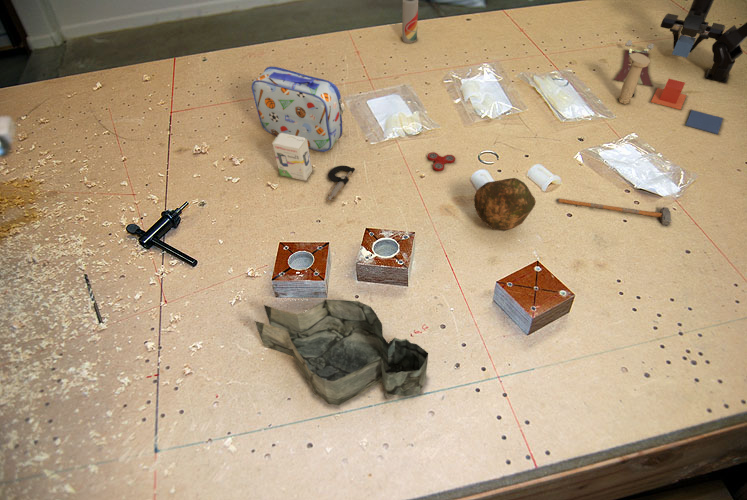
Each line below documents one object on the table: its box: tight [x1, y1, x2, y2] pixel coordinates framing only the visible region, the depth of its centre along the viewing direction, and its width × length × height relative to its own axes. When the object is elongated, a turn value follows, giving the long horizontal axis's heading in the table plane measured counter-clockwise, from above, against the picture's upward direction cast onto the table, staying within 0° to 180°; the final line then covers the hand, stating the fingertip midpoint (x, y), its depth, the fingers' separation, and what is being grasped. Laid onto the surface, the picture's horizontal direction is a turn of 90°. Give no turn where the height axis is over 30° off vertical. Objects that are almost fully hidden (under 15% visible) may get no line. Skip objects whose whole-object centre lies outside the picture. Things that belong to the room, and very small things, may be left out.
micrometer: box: [326, 165, 356, 203], centre depth 146 cm, size 15×7×2 cm, turn 154°
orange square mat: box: [650, 87, 687, 110], centre depth 169 cm, size 9×9×1 cm
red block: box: [659, 78, 686, 104], centre depth 167 cm, size 5×5×5 cm
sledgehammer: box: [558, 198, 672, 226], centre depth 136 cm, size 27×2×5 cm
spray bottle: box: [401, 0, 419, 44], centre depth 194 cm, size 6×6×20 cm
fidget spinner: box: [427, 151, 456, 172], centre depth 151 cm, size 8×7×1 cm
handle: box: [618, 53, 651, 105], centre depth 164 cm, size 5×6×15 cm
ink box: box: [271, 133, 313, 181], centre depth 146 cm, size 9×5×12 cm, turn 70°
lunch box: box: [251, 66, 346, 153], centre depth 153 cm, size 28×10×22 cm, turn 65°
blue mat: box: [685, 109, 724, 135], centre depth 161 cm, size 9×9×1 cm
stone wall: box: [254, 298, 429, 406], centre depth 105 cm, size 35×19×10 cm, turn 71°
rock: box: [473, 177, 537, 232], centre depth 129 cm, size 13×13×15 cm
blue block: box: [671, 34, 697, 59], centre depth 181 cm, size 5×5×5 cm
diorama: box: [613, 39, 655, 97], centre depth 180 cm, size 12×35×5 cm, turn 159°
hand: (682, 50), depth 182 cm, fingers closed on blue block, 5 cm apart
